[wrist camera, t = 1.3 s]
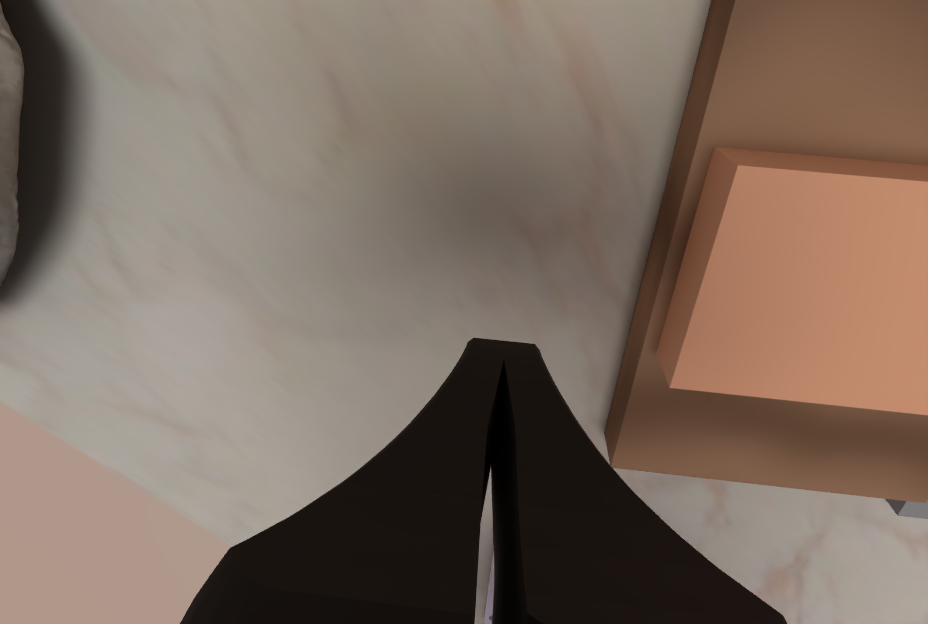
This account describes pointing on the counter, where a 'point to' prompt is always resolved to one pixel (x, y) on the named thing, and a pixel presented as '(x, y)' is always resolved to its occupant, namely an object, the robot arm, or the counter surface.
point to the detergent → (9, 141)
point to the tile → (804, 283)
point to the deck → (702, 128)
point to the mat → (909, 508)
